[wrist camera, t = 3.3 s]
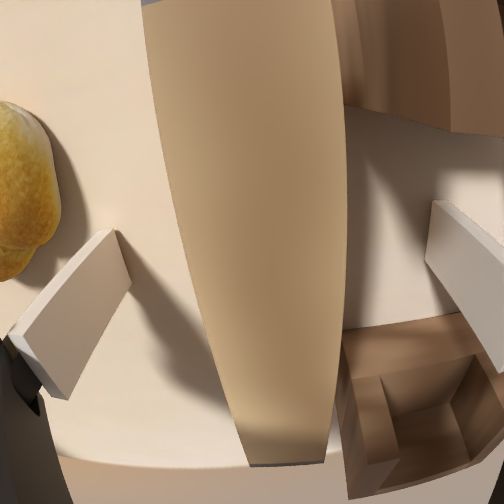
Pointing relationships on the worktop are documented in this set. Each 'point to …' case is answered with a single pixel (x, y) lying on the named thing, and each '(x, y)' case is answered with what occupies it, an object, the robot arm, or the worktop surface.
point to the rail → (259, 203)
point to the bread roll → (25, 189)
